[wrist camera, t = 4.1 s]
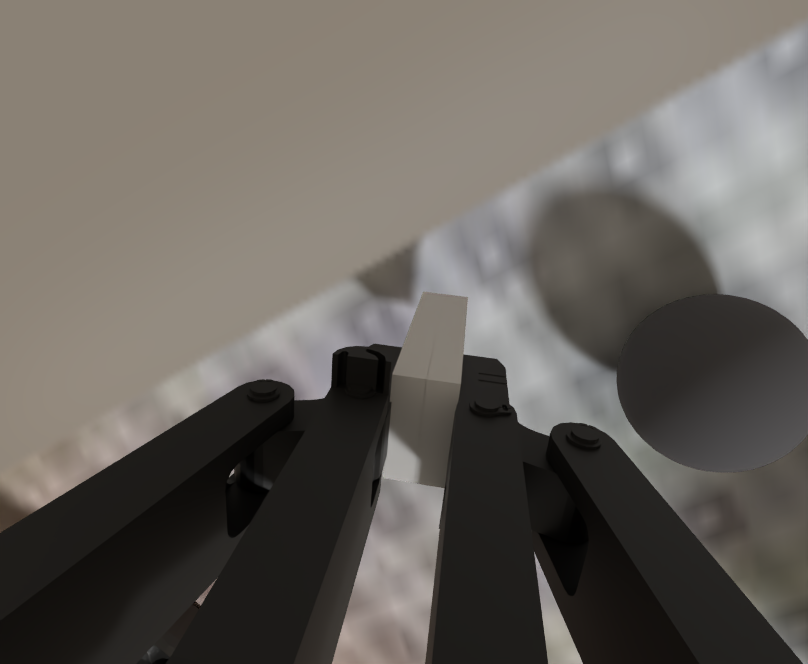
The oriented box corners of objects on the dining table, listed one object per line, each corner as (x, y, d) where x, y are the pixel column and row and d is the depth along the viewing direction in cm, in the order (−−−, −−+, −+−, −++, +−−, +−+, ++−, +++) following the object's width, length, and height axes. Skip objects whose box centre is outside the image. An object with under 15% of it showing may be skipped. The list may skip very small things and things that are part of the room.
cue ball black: (585, 404, 20) (623, 494, 15) (620, 265, 18) (677, 315, 13) (733, 426, 20) (824, 526, 14) (786, 286, 18) (913, 346, 12)
